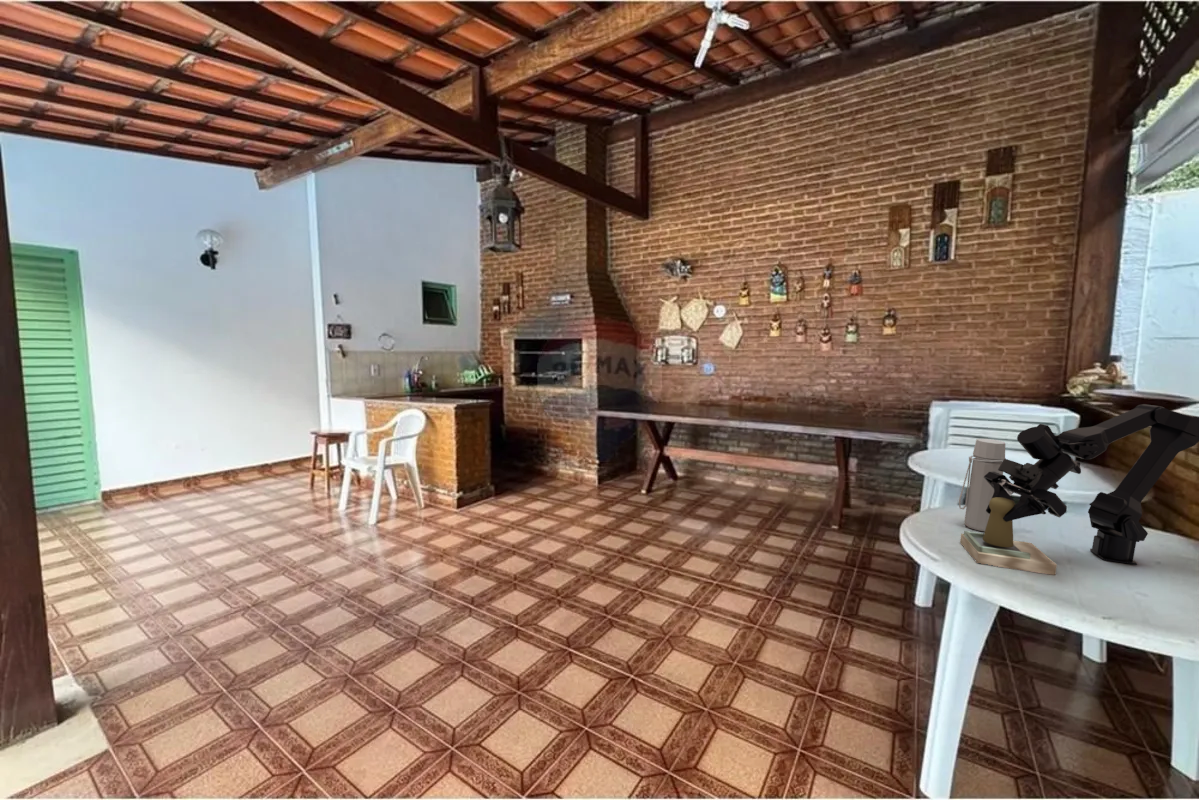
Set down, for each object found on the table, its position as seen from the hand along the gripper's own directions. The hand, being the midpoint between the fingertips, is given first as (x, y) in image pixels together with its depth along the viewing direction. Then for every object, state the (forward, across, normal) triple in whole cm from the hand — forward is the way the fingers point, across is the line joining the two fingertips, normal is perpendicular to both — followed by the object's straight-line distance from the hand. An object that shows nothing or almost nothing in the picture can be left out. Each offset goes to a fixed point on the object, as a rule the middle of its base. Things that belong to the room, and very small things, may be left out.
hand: (995, 516), depth 125 cm
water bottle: (0, -19, +15) cm, 24 cm away
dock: (+5, +1, +9) cm, 11 cm away
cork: (+4, 0, +6) cm, 7 cm away
